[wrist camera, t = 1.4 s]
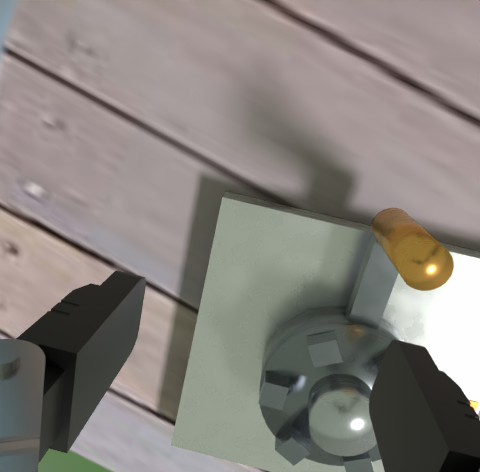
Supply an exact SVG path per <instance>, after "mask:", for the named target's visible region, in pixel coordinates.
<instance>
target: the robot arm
mask: <svg viewBox="0 0 480 472" xmlns="http://www.w3.org/2000/svg"><path fill="white" fill-rule="evenodd" d="M145 286H146V280H145V277H142V276H137V275H133V274H129V273H125V272H121V271H115V272H114V273H113V274H112V275H111V276H110V277H109V278H108V279H107V280H105V281H104V282H103V283H102V284H101V285H100V286H99V285H95V284H89V285H86V286H83V287H81V288H78V289H75V290H73V291H72V292H71V293H69V294H68V295H67V296H66V297H65V298H63V299H62V300H61V303H58V304H56V305H55V306H54V307H53V308H52V309H51V311H48V312H47V313H46V314H45V315H44V316H42V317H41V318H40V319H39V320H38V321H36V322H35V323H34V324H33V325H32V326H31V327H29V328H28V329H27V330H26V331H25V332H24V333H22V334H21V335H20V336H19V337H18V338H17V339H0V472H38V463H39V462H40V461H41V459H42V458H43V456H44V455H45V454H46V452H47V451H48V449H49V448H50V449H53V450H57V451H61V452H65V453H67V452H68V451H69V449H70V448H71V446H72V444H73V443H74V441H75V440H76V438H77V437H78V435H79V434H80V432H81V430H82V429H83V427H84V426H85V424H86V423H87V421H88V419H89V418H90V416H91V415H92V413H93V412H94V410H95V408H96V407H97V405H98V404H99V402H100V401H101V399H102V397H103V396H104V394H105V393H106V391H107V390H108V388H109V387H110V385H111V383H112V382H113V380H114V379H115V377H116V376H117V374H118V372H119V371H120V369H121V368H122V366H123V365H124V363H125V361H126V360H127V358H128V357H129V355H130V354H131V352H132V350H133V347H134V345H135V342H136V339H137V335H138V331H139V325H140V319H141V312H142V306H143V299H144V293H145ZM470 404H471V403H470V402H469V400H468V398H467V397H466V395H465V394H464V392H463V390H462V389H461V387H460V386H459V385H458V384H456V383H455V382H454V381H453V380H452V379H451V378H450V377H449V376H448V375H447V374H446V373H445V372H443V371H439V369H438V367H437V366H436V364H435V362H434V361H433V359H432V357H431V355H430V354H429V352H428V350H427V349H426V348H425V347H424V346H420V345H416V344H412V343H408V342H404V341H399V340H392V341H391V342H390V344H389V345H388V348H387V350H386V353H385V355H384V358H383V360H382V363H381V366H380V368H379V371H378V374H377V376H376V379H375V381H374V384H373V387H372V390H371V393H370V398H369V414H370V419H371V422H372V426H373V430H374V434H375V437H376V441H377V445H378V449H379V452H380V456H381V460H382V464H383V467H384V471H385V472H480V421H479V416H478V415H477V413H476V411H475V410H474V408H473V407H471V406H470Z"/></svg>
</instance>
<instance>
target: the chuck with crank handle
mask: <svg viewBox="0 0 480 472" xmlns="http://www.w3.org/2000/svg"><path fill="white" fill-rule="evenodd" d="M453 269H454V261H453V258H452V256H451V254H450V252H449V251H448V250H447V249H446V248H444V247H443V246H442V245H441V244H440V243H439V242H438V241H437V240H436V239H435V238H433V237H432V236H431V235H430V234H429V233H428V232H427V231H426V230H425V229H423V228H422V227H421V226H420V225H419V224H418V223H417V222H416V221H415V220H413V219H412V218H411V217H410V216H409V215H408V214H407V213H406V212H405V211H403V210H401V209H398V208H388V209H385V210H383V211H381V212H380V213H378V214H377V215H376V217H375V218H374V220H373V223H372V235H371V238H370V241H369V244H368V247H367V250H366V253H365V256H364V259H363V262H362V265H361V268H360V271H359V274H358V277H357V280H356V283H355V286H354V289H353V292H352V295H351V298H350V300H349V303H348V306H326V307H320V308H315V309H312V310H308V311H306V312H303V313H301V314H299V315H297V316H295V317H293V318H292V319H290V320H289V321H287V322H286V323H285V324H283V325H282V326H281V327H280V328H279V329H278V330H277V331H276V332H275V334H274V335H273V336H272V338H271V339H270V341H269V343H268V345H267V347H266V350H265V352H264V356H263V361H262V370H261V380H260V390H259V404H260V408H261V412H262V416H263V418H264V420H265V423H266V425H267V426H268V428H269V429H270V431H271V432H272V434H273V435H274V436H275V451H277V452H278V453H279V454H280V455H281V456H283V457H284V458H285V459H286V460H287V461H289V462H290V463H291V464H292V465H293V466H294V465H296V464H297V463H298V462H300V461H301V460H303V459H304V458H306V459H308V460H311V461H314V462H318V463H322V464H327V465H334V466H345V470H346V472H374V469H373V464H372V462H374V461H377V460H380V459H381V456H380V452H379V449H378V445H377V441H376V437H375V434H374V430H373V426H372V422H371V419H370V414H369V398H370V393H371V390H372V387H373V384H374V381H375V379H376V376H377V374H378V371H379V368H380V366H381V363H382V360H383V358H384V355H385V353H386V350H387V348H388V345H389V344H390V342H391V341H392V340H399V341H404V340H403V338H402V337H401V336H400V334H399V333H398V332H397V331H396V330H395V329H394V328H393V327H392V326H391V325H390V324H389V323H387V322H386V321H385V320H383V319H382V316H383V314H384V311H385V308H386V306H387V303H388V300H389V297H390V295H391V292H392V289H393V287H394V284H395V281H396V279H397V276H398V273H399V274H400V276H401V277H402V279H403V280H404V282H405V283H406V284H407V285H408V286H410V287H411V288H413V289H416V290H420V291H429V290H434V289H436V288H439V287H440V286H442V285H443V284H445V283H446V282H447V281H448V280H449V278H450V277H451V275H452V272H453ZM404 342H405V341H404Z"/></svg>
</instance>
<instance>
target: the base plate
mask: <svg viewBox="0 0 480 472" xmlns="http://www.w3.org/2000/svg"><path fill="white" fill-rule="evenodd" d="M371 235H372V226H370V225H366V224H361V223H357V222H353V221H349V220H345V219H340V218H336V217H332V216H328V215H324V214H319V213H315V212H311V211H307V210H303V209H298V208H294V207H290V206H286V205H282V204H278V203H273V202H269V201H265V200H261V199H257V198H252V197H248V196H244V195H240V194H236V193H231V192H227V191H226V193H225V194H224V196H223V197H222V201H221V206H220V211H219V216H218V220H217V225H216V230H215V235H214V240H213V245H212V249H211V254H210V259H209V264H208V269H207V274H206V278H205V283H204V288H203V293H202V298H201V303H200V307H199V312H198V317H197V322H196V327H195V332H194V336H193V341H192V346H191V351H190V356H189V360H188V365H187V370H186V375H185V380H184V385H183V389H182V394H181V399H180V404H179V409H178V414H177V418H176V423H175V428H174V433H173V438H172V443H171V445H173V446H176V447H180V448H184V449H188V450H191V451H195V452H199V453H203V454H206V455H210V456H214V457H218V458H222V459H225V460H229V461H233V462H237V463H240V464H244V465H248V466H252V467H255V468H259V469H263V470H267V471H270V472H346V470H345V466H334V465H327V464H322V463H318V462H314V461H311V460H308V459H306V458H304V459H303V460H301V461H300V462H298V463H297V464H296V465H294V466H293V465H292V464H291V463H290V462H289V461H287V460H286V459H285V458H284V457H283V456H281V455H280V454H279V453H278V452H277V451H275V436H274V435H273V434H272V432H271V431H270V429H269V428H268V426H267V425H266V423H265V420H264V418H263V416H262V412H261V408H260V404H259V390H260V380H261V370H262V361H263V356H264V352H265V350H266V347H267V345H268V343H269V341H270V339H271V338H272V336H273V335H274V334H275V332H276V331H277V330H278V329H279V328H280V327H281V326H282V325H283V324H285V323H286V322H287V321H289V320H290V319H292V318H293V317H295V316H297V315H299V314H301V313H303V312H306V311H308V310H312V309H315V308H320V307H326V306H348V303H349V300H350V298H351V295H352V292H353V289H354V286H355V283H356V280H357V277H358V274H359V271H360V268H361V265H362V262H363V259H364V256H365V253H366V250H367V247H368V244H369V241H370V238H371ZM439 243H440V244H441V245H442V246H443V247H444V248H446V249H447V250H448V251H449V252H450V254H451V256H452V258H453V261H454V269H453V272H452V275H451V277H450V278H449V280H448V281H447V282H446V283H445V284H443V285H442V286H440V287H439V288H436V289H434V290H429V291H420V290H416V289H413V288H411V287H410V286H408V285H407V284H406V283H405V282H404V280H403V279H402V277H401V276H400V274H399V273H398V276H397V279H396V281H395V284H394V287H393V289H392V292H391V295H390V297H389V300H388V303H387V306H386V308H385V311H384V314H383V316H382V319H383V320H385V321H386V322H387V323H389V324H390V325H391V326H392V327H393V328H394V329H395V330H396V331H397V332H398V333H399V334H400V336H401V337H402V338H403V340H404V341H405V342H408V343H412V344H416V345H420V346H424V347H425V348H426V349H427V350H428V352H429V354H430V355H431V357H432V359H433V361H434V362H435V364H436V366H437V367H438V369H439V371H443V372H445V373H446V374H447V375H448V376H449V377H450V378H451V379H452V380H453V381H454V382H455V383H456V384H458V385H459V386H460V387H461V389H462V390H463V392H464V394H465V395H466V397H467V398H468V400H469V402H470V403H471V404H470V406H471V407H473V408H474V410H475V411H476V413H477V414H478V412H479V410H480V252H479V251H475V250H470V249H466V248H462V247H458V246H454V245H449V244H445V243H441V242H439ZM372 464H373V469H374V472H385V471H384V467H383V464H382V460H381V459H380V460H377V461H374V462H372Z"/></svg>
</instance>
